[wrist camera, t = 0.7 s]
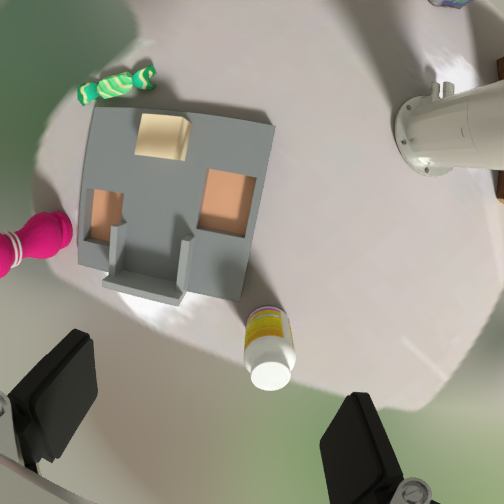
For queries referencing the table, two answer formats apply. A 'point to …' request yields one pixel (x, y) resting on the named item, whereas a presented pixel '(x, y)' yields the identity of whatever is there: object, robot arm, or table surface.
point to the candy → (116, 85)
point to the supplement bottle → (269, 348)
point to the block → (163, 136)
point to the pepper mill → (35, 239)
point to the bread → (503, 181)
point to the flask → (450, 3)
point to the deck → (172, 206)
